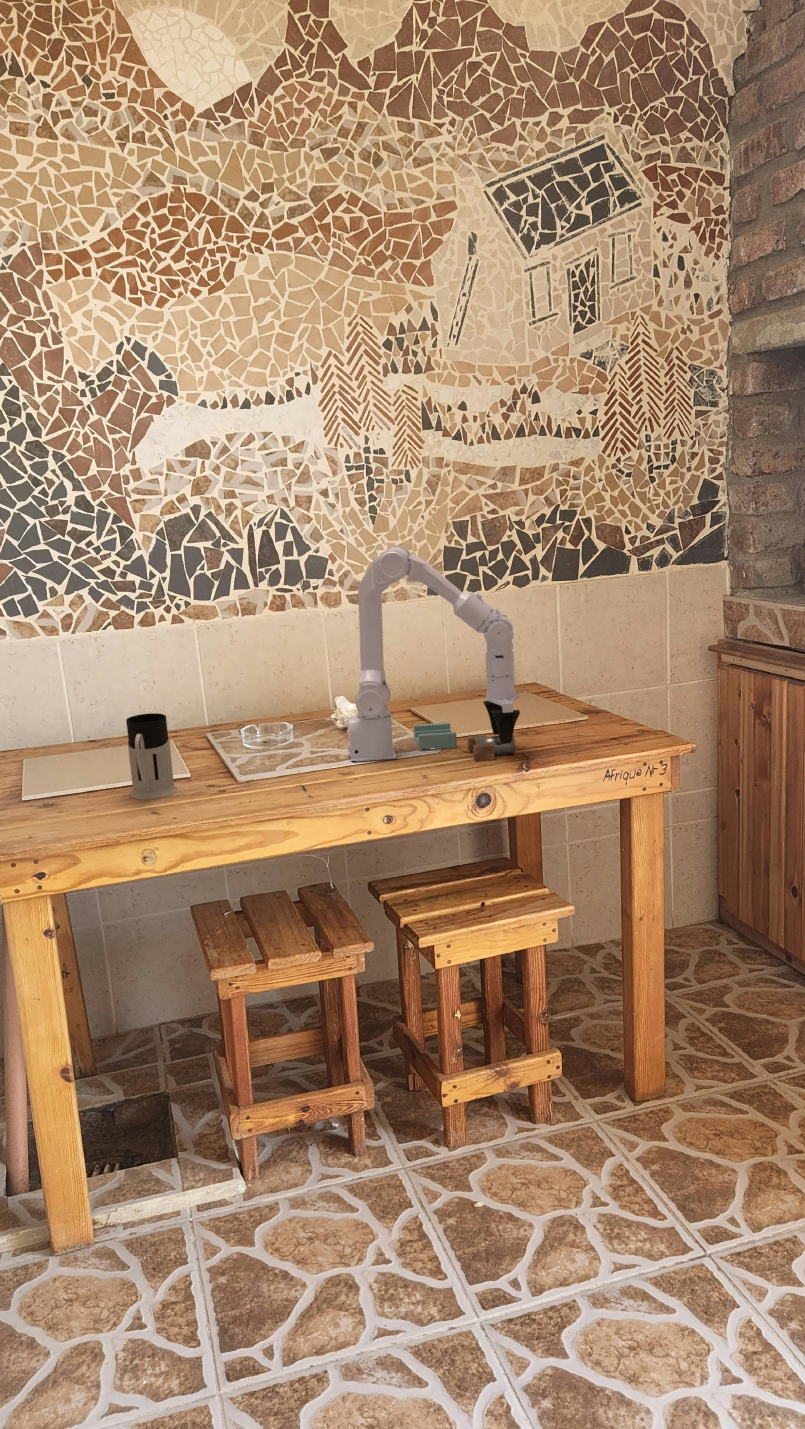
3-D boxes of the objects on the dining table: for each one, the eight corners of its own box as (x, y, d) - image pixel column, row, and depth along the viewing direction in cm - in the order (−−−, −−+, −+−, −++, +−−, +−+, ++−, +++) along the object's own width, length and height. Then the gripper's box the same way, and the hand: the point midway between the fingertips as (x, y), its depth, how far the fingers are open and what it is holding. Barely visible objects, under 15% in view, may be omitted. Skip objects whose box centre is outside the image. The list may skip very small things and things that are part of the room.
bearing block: (475, 761, 221) (474, 747, 221) (468, 750, 230) (467, 736, 229) (494, 760, 222) (494, 746, 221) (486, 748, 230) (486, 735, 230)
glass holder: (180, 784, 215) (173, 711, 212) (167, 807, 202) (159, 729, 198) (136, 786, 215) (128, 713, 212) (120, 809, 201) (111, 732, 198)
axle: (477, 759, 224) (477, 741, 223) (474, 753, 228) (473, 735, 227) (515, 756, 225) (515, 738, 223) (511, 750, 228) (511, 732, 227)
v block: (419, 750, 231) (419, 736, 231) (414, 738, 241) (413, 724, 240) (456, 747, 232) (456, 733, 231) (449, 736, 242) (449, 722, 241)
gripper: (527, 680, 216) (528, 745, 219) (512, 666, 230) (513, 728, 233) (492, 682, 215) (494, 748, 218) (479, 669, 229) (481, 731, 232)
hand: (502, 738), depth 226 cm, fingers open, 7 cm apart
